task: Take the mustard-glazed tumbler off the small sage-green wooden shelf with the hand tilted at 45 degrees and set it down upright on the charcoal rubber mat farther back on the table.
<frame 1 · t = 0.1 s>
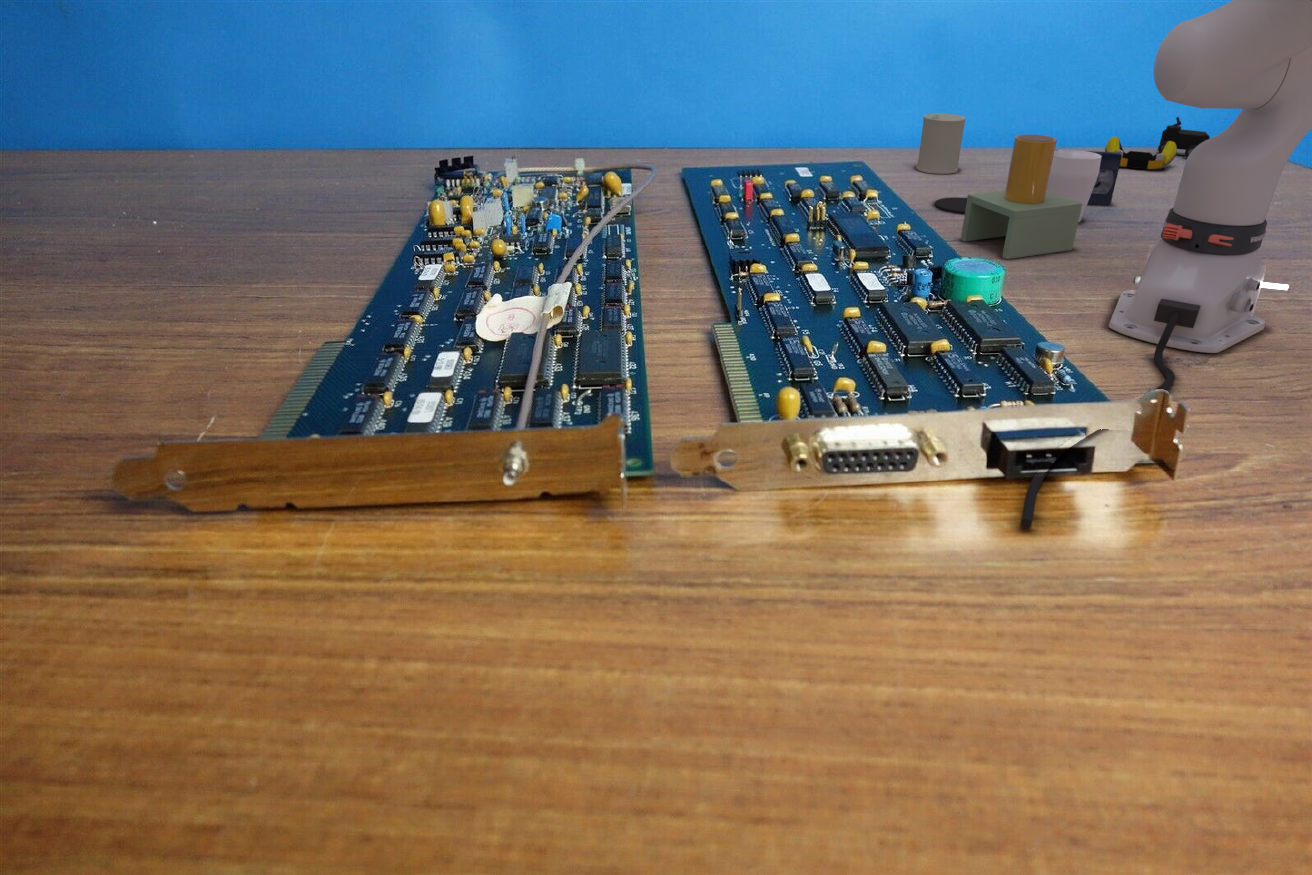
vhs cassette tape: (1060, 202, 188), on the table
shelf: (1015, 244, 162), on the table
mat: (963, 206, 185), on the table
cup: (1061, 220, 177), on the table
can: (936, 170, 214), on the table
toy vehicle: (1191, 157, 227), on the table
tumbler: (1024, 198, 158), point 8 cm above the table, touching shelf
gaming controller: (1136, 166, 218), on the table
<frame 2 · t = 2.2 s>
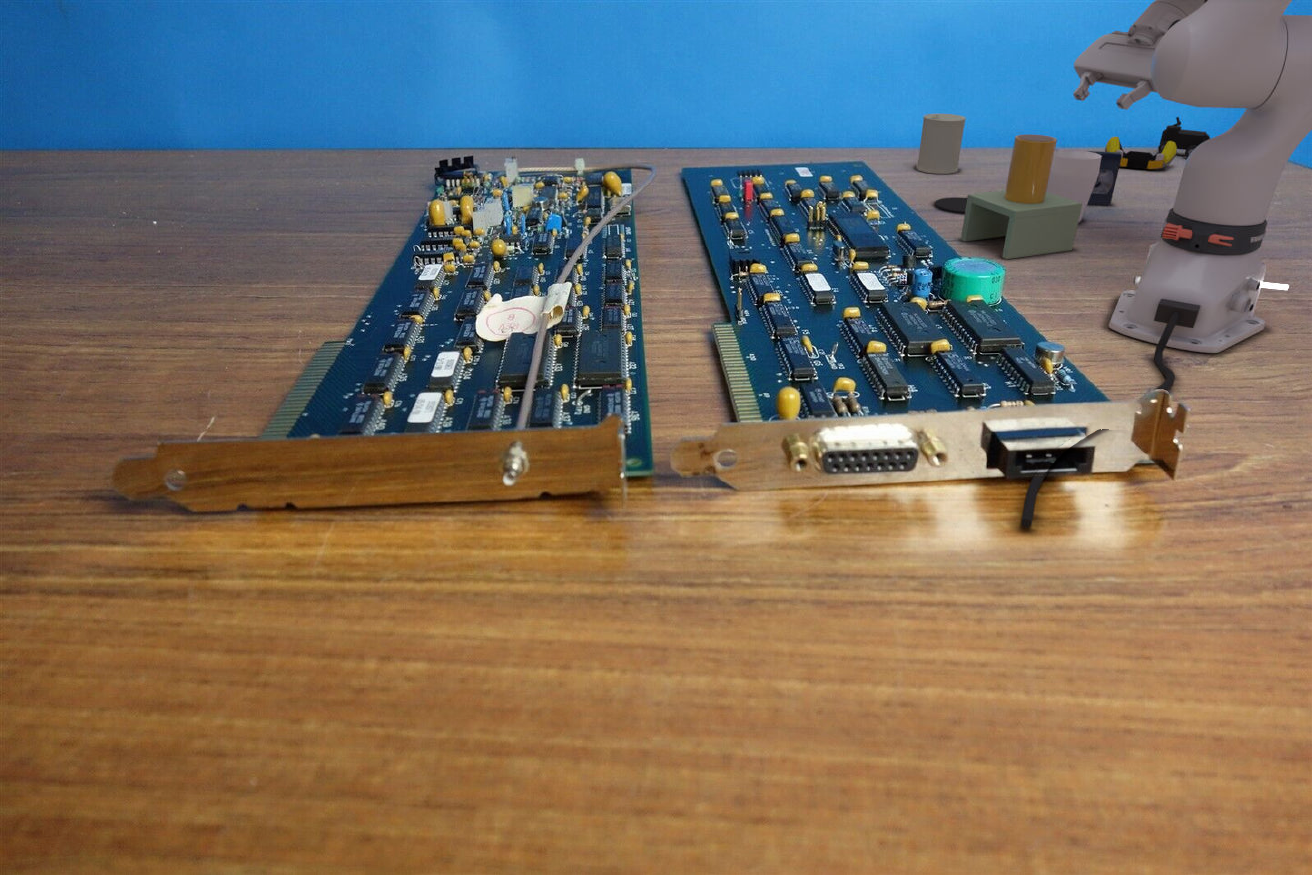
hand: (1098, 102, 155), 23 cm above the table, tool tilted 45°, fingers open, 8 cm apart
nothing on the table moved.
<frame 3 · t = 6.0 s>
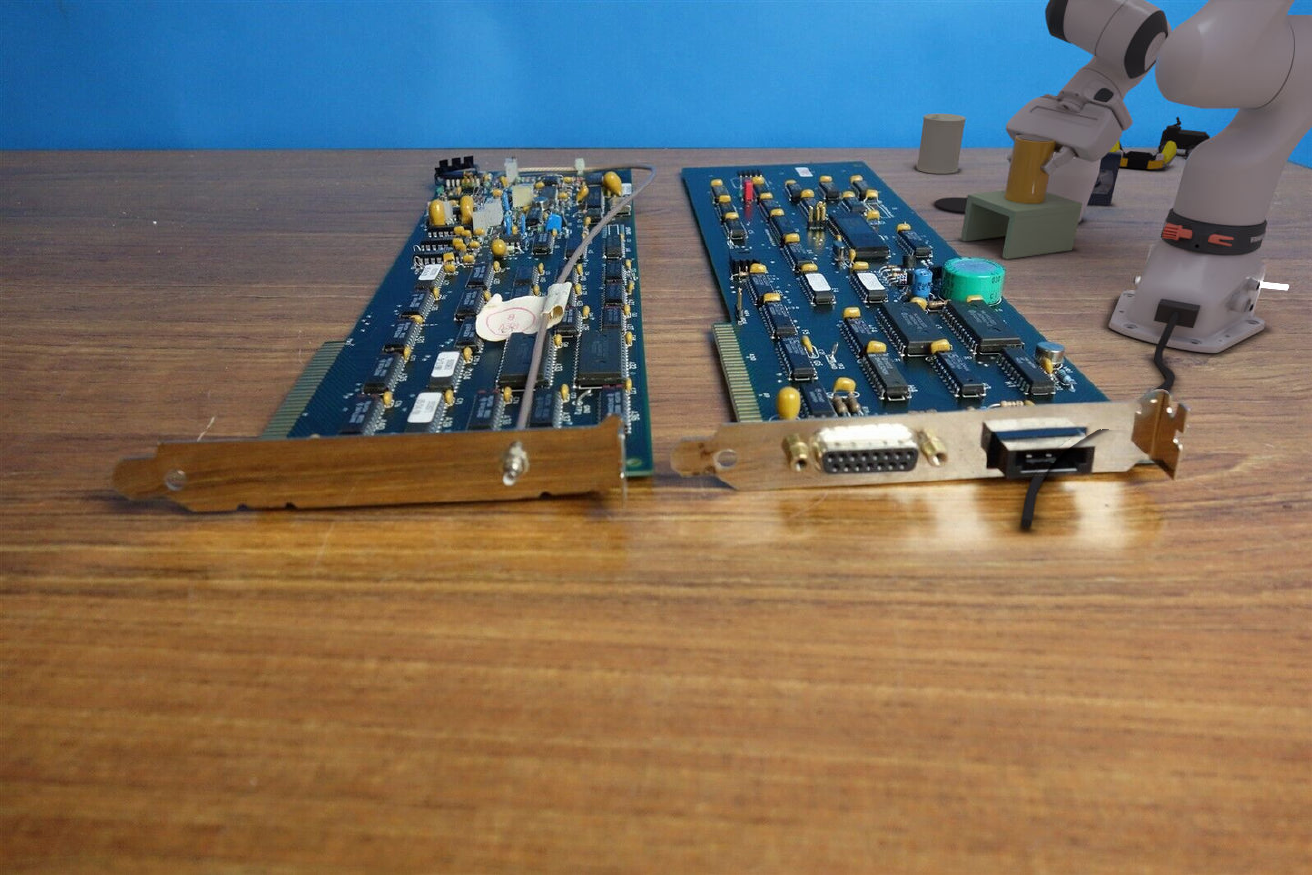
hand: (1027, 166, 156), 13 cm above the table, tool tilted 45°, fingers closed on tumbler, 6 cm apart
tumbler: (1024, 198, 158), point 8 cm above the table, touching gripper, shelf
everything else where it was.
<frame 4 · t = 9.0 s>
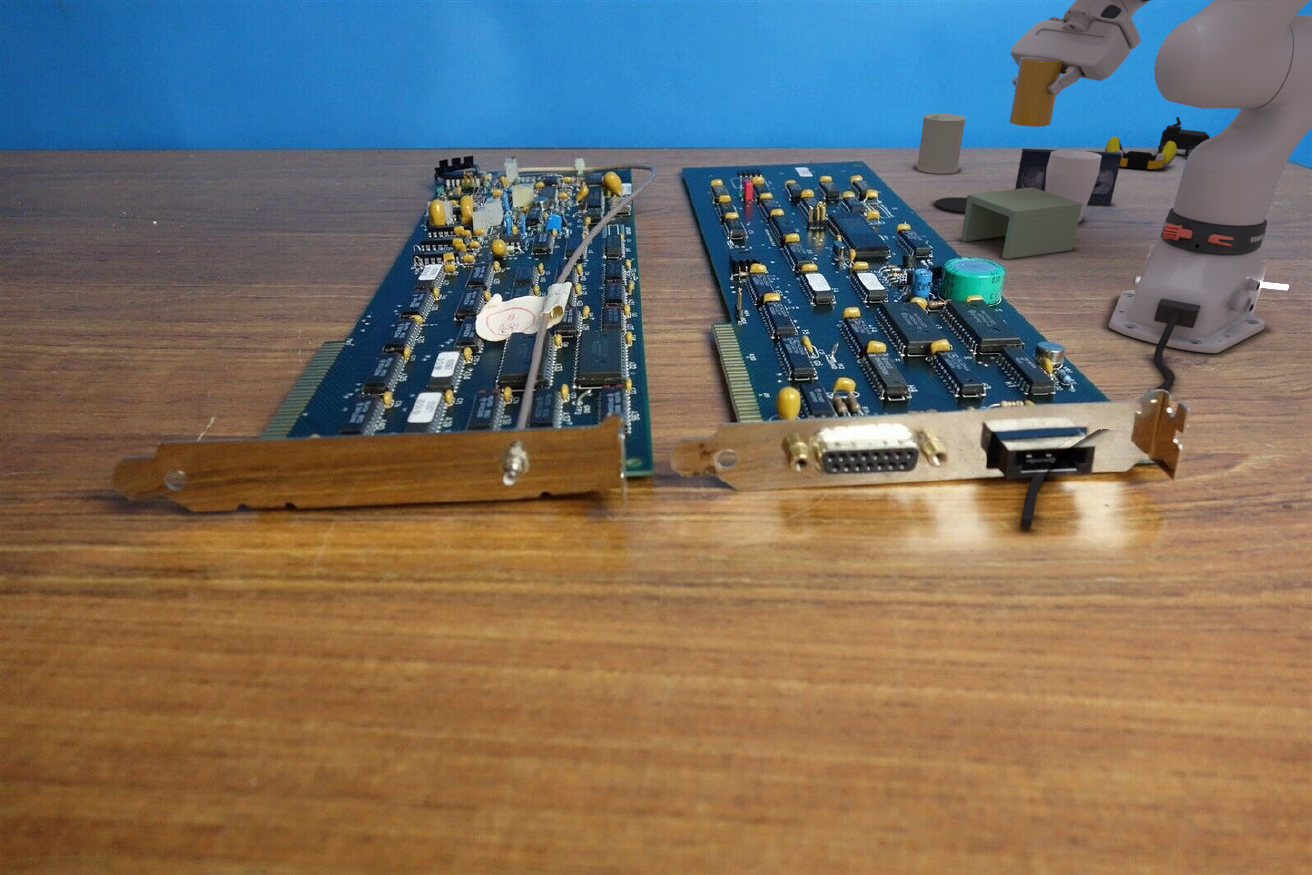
hand: (1033, 89, 153), 25 cm above the table, tool tilted 45°, fingers closed on tumbler, 6 cm apart
tumbler: (1029, 123, 156), point 20 cm above the table, touching gripper
everything else where it was.
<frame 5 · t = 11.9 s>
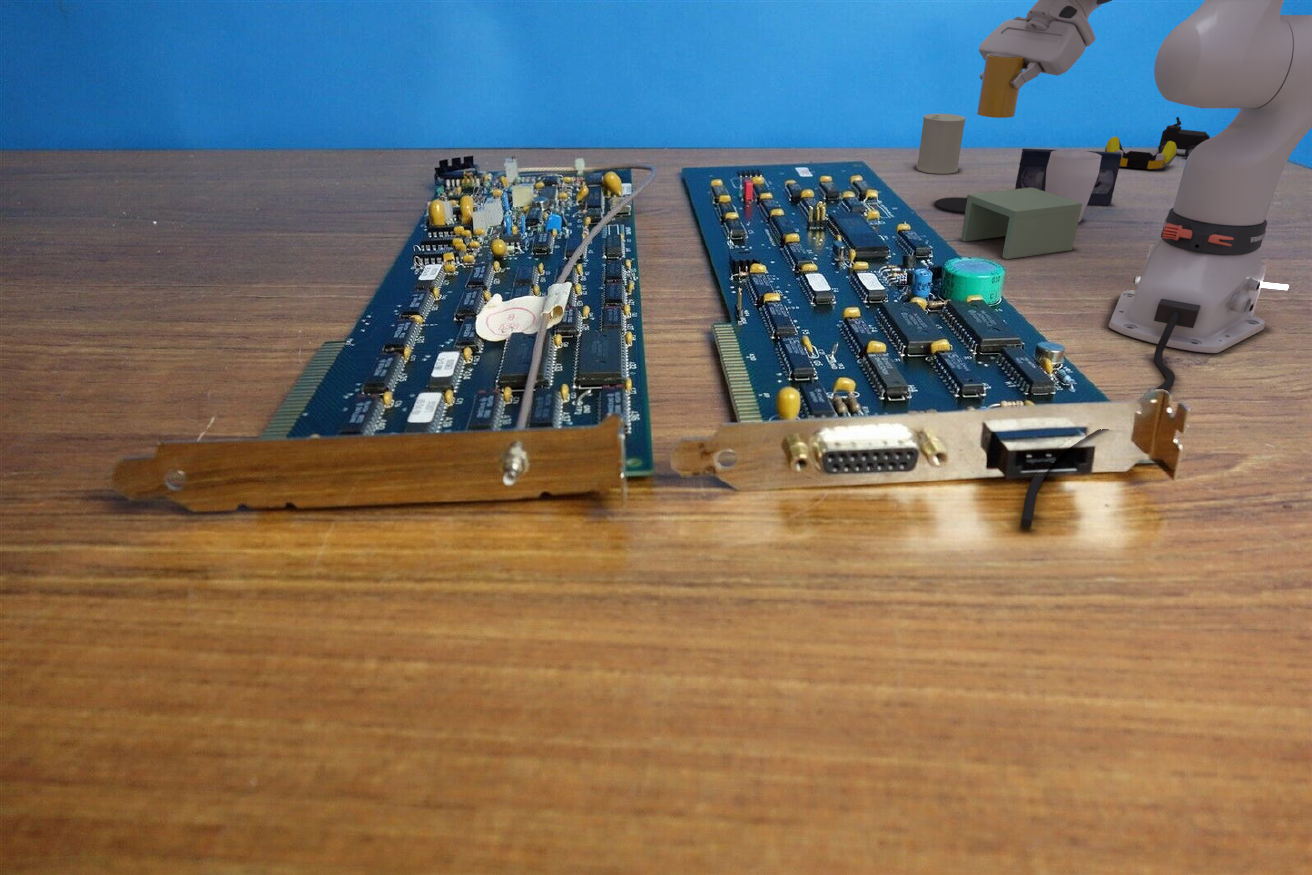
hand: (998, 83, 166), 24 cm above the table, tool tilted 45°, fingers closed on tumbler, 6 cm apart
tumbler: (995, 114, 169), point 19 cm above the table, touching gripper
everything else where it was.
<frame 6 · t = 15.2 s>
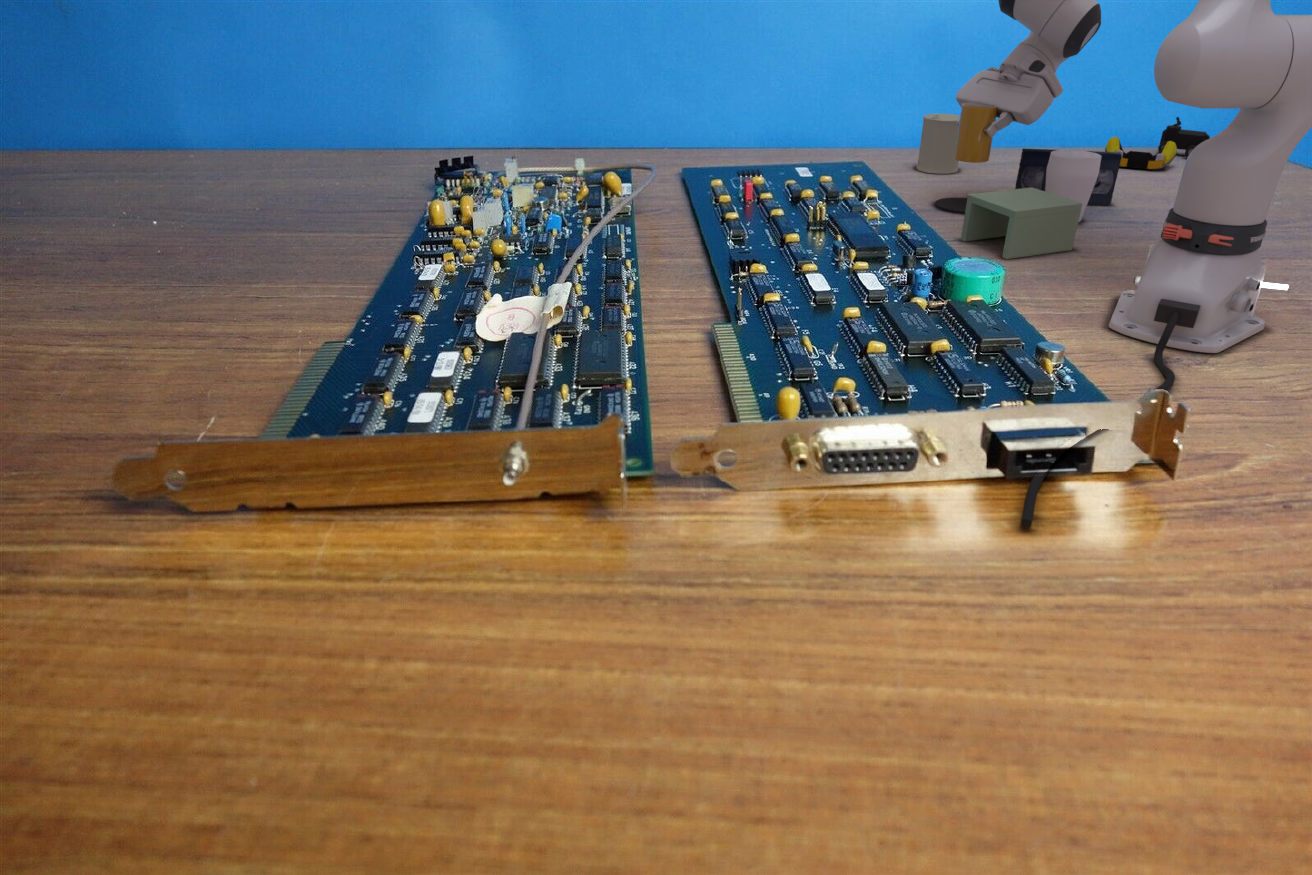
hand: (973, 130, 177), 15 cm above the table, tool tilted 45°, fingers closed on tumbler, 6 cm apart
tumbler: (971, 159, 180), point 9 cm above the table, touching gripper
everything else where it was.
when the fingers open (6 cm above the table, at t = 18.2 s): tumbler stays where it is, resting on mat.
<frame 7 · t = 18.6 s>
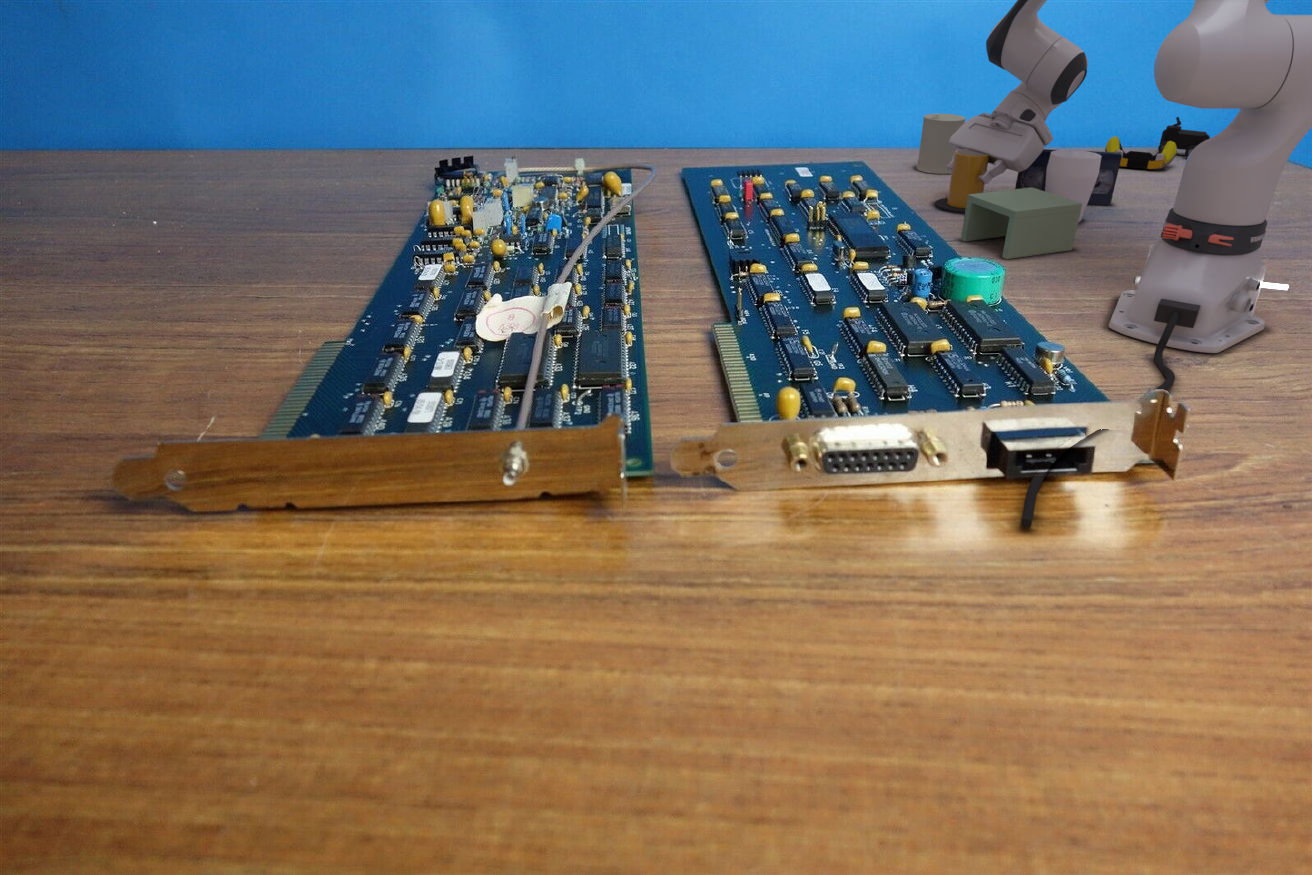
hand: (965, 175, 181), 6 cm above the table, tool tilted 45°, fingers open, 8 cm apart
tumbler: (963, 204, 184), resting on mat
everything else where it was.
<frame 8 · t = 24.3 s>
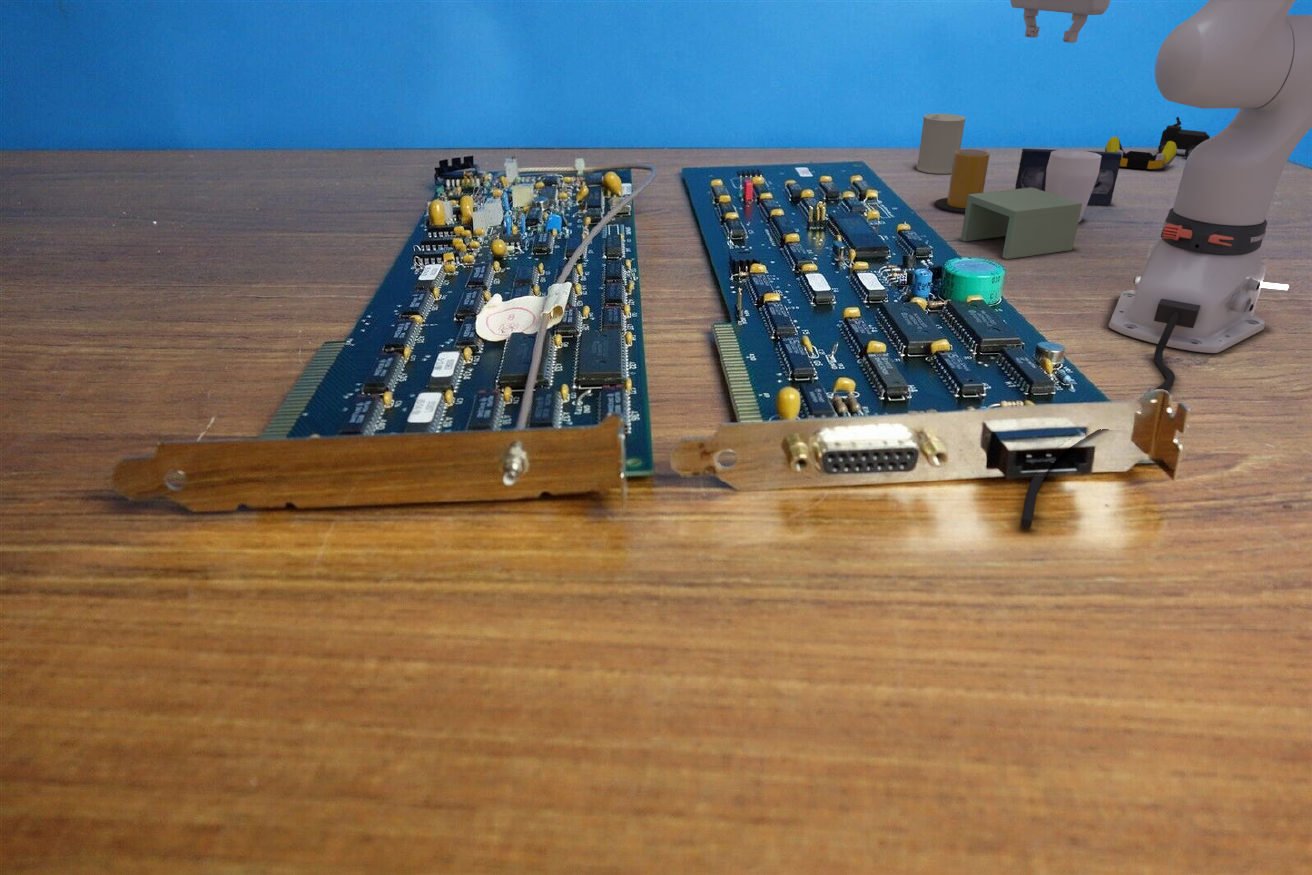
hand: (1049, 39, 165), 31 cm above the table, tool pointing down, fingers open, 8 cm apart
nothing on the table moved.
at the end: tumbler 0.1 cm off-centre on the mat, point 0.5 cm above the mat's base; tumbler tilted 0°; the gripper is holding nothing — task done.
